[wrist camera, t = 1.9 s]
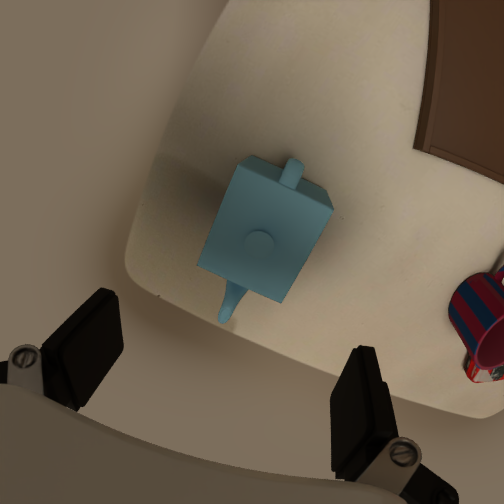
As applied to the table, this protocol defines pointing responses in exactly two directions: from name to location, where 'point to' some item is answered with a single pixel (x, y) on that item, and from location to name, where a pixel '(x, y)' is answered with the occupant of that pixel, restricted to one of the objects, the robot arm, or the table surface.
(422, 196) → the table surface
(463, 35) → the tray
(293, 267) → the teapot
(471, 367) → the race car
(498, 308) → the mug
